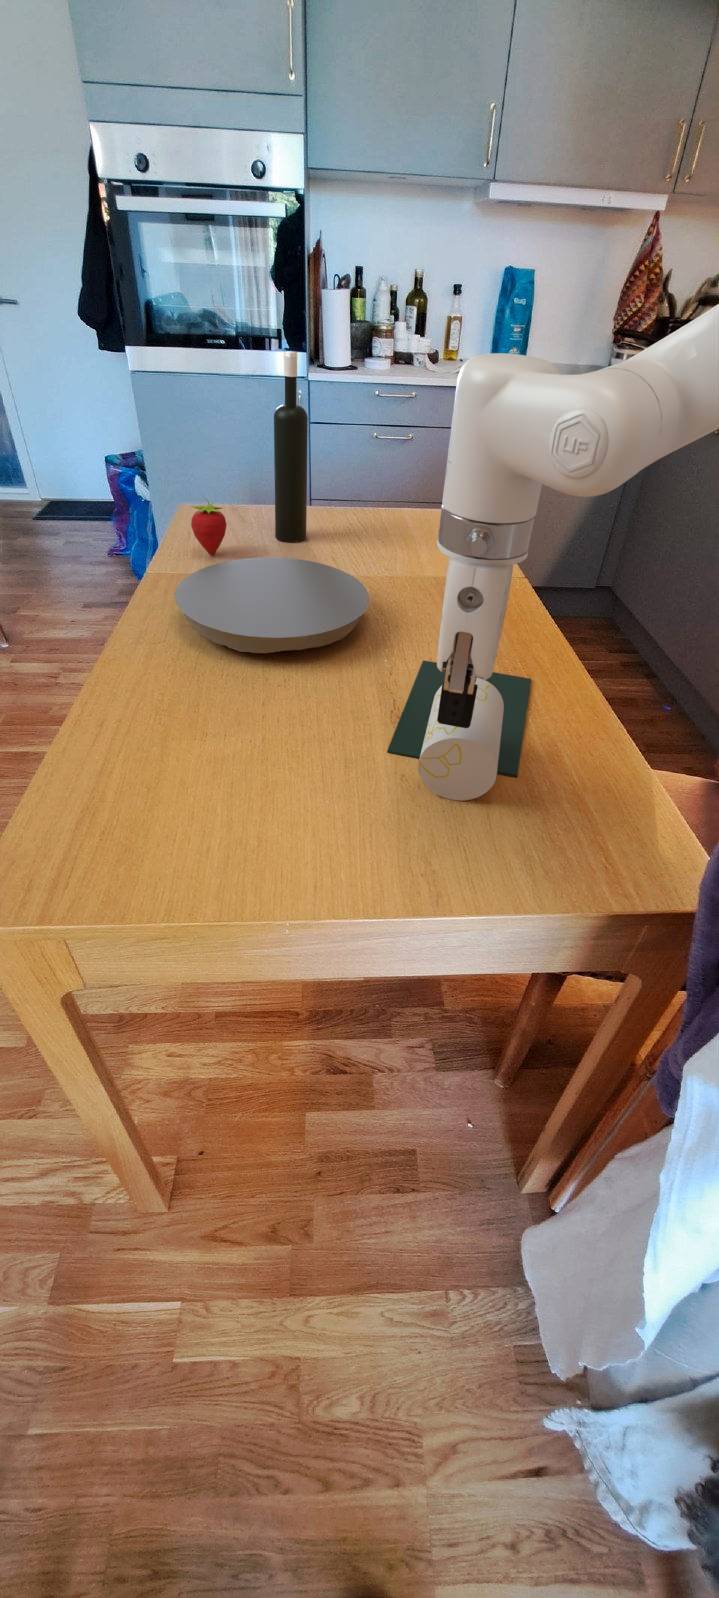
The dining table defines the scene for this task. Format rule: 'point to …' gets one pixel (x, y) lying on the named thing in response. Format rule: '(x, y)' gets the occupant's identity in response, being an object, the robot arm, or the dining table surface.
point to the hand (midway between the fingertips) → (454, 721)
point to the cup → (463, 748)
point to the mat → (420, 705)
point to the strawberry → (209, 527)
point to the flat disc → (271, 603)
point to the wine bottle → (290, 460)
